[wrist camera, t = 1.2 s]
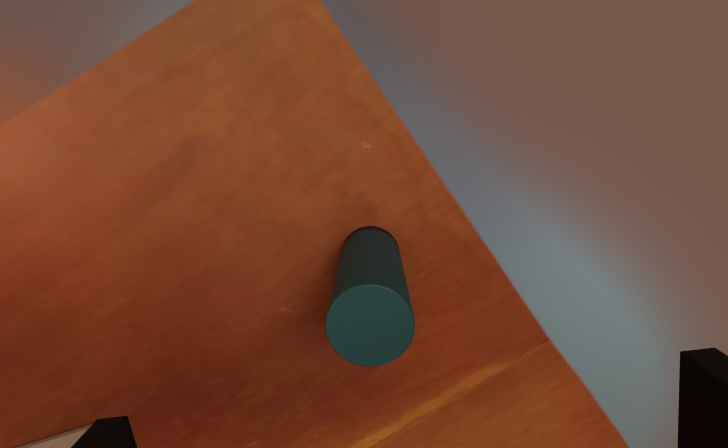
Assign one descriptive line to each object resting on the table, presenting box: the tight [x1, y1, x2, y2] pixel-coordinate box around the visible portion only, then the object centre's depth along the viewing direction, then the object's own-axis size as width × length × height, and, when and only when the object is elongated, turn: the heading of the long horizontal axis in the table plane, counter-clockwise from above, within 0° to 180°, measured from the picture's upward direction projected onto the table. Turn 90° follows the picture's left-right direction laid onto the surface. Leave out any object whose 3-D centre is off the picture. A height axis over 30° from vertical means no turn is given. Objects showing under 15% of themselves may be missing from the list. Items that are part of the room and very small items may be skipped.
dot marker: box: [325, 226, 415, 366], centre depth 24 cm, size 4×4×11 cm
